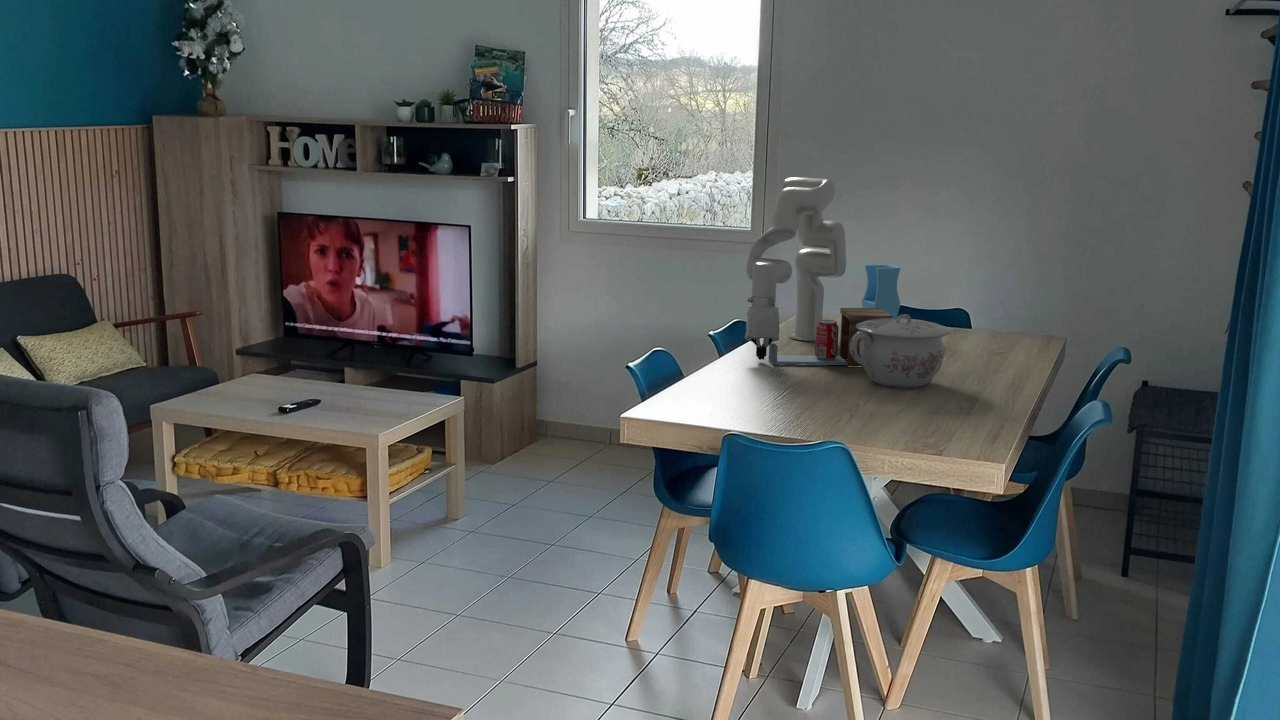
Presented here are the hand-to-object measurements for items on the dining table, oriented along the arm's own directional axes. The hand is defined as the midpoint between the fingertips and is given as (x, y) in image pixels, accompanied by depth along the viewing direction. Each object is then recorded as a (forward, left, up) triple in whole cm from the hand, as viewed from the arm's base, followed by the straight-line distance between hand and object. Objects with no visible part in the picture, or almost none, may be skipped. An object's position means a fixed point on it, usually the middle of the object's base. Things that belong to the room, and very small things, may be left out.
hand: (761, 358), depth 361 cm
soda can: (0, +21, 0) cm, 21 cm away
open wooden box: (0, +32, -1) cm, 33 cm away
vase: (-47, +50, -2) cm, 69 cm away
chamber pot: (+27, +36, -2) cm, 45 cm away
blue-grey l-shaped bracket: (0, +15, -1) cm, 15 cm away
